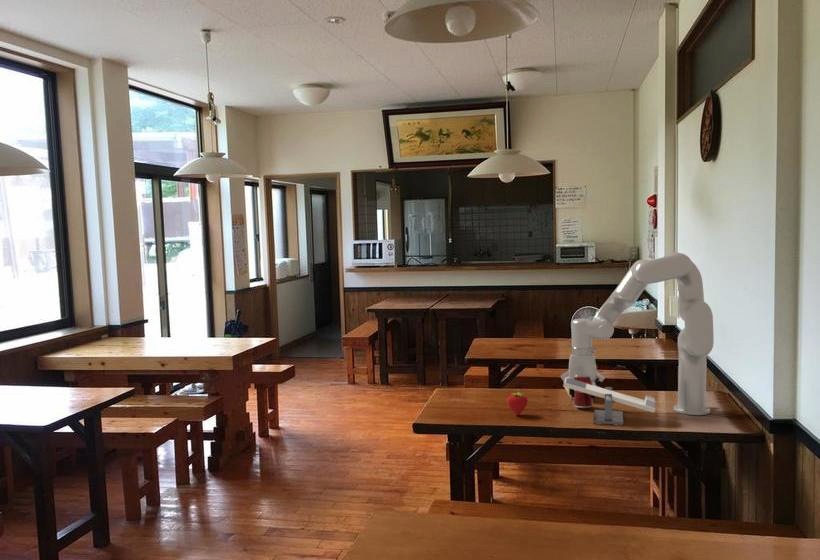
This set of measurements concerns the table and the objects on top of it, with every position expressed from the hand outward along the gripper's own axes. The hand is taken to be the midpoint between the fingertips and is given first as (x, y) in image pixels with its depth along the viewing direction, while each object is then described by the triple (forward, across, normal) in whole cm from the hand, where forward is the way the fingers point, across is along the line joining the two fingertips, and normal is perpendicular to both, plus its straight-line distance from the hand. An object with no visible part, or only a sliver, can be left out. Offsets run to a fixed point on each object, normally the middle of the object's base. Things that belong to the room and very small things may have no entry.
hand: (582, 396), depth 257 cm
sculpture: (+5, +2, -14) cm, 15 cm away
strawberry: (+4, +23, +15) cm, 28 cm away
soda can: (+4, 0, 0) cm, 4 cm away
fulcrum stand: (+5, -9, +13) cm, 16 cm away
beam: (-4, -10, +13) cm, 17 cm away
